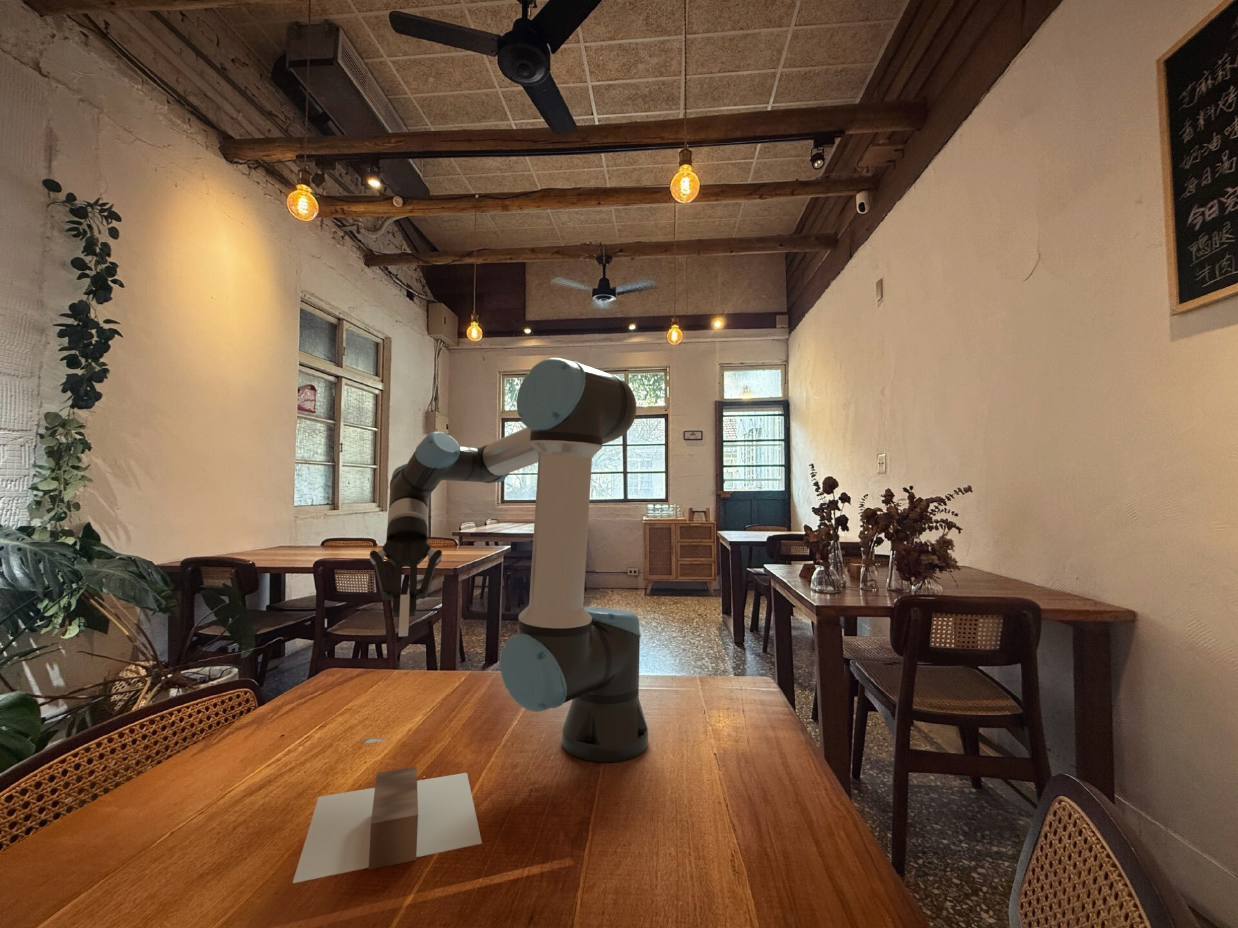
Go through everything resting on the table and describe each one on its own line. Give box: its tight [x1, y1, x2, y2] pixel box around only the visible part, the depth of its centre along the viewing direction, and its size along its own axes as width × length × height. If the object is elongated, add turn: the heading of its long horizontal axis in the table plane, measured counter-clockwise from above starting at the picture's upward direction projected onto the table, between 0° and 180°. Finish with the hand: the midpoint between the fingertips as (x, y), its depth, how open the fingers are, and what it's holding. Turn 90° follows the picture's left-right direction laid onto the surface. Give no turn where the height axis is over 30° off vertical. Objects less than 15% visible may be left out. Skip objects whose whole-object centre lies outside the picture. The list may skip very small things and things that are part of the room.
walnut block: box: [368, 766, 418, 871], centre depth 66 cm, size 5×5×12 cm
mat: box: [292, 772, 483, 884], centre depth 70 cm, size 20×18×1 cm
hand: (403, 631), depth 89 cm, fingers closed
